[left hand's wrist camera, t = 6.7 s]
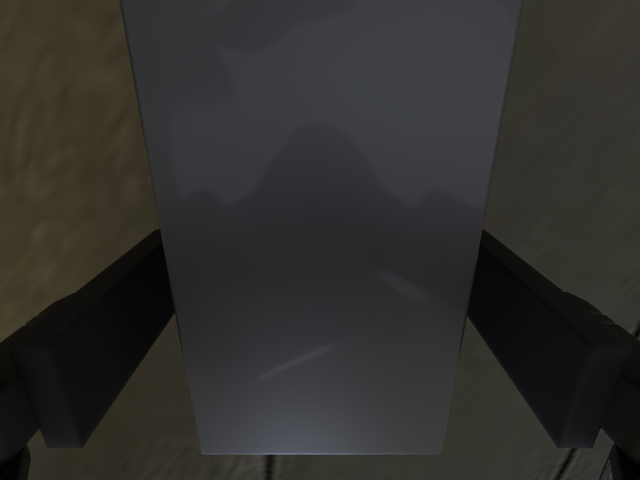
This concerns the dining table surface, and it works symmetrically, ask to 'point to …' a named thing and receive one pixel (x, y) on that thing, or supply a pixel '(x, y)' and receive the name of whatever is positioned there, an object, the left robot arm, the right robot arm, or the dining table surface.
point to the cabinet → (321, 207)
